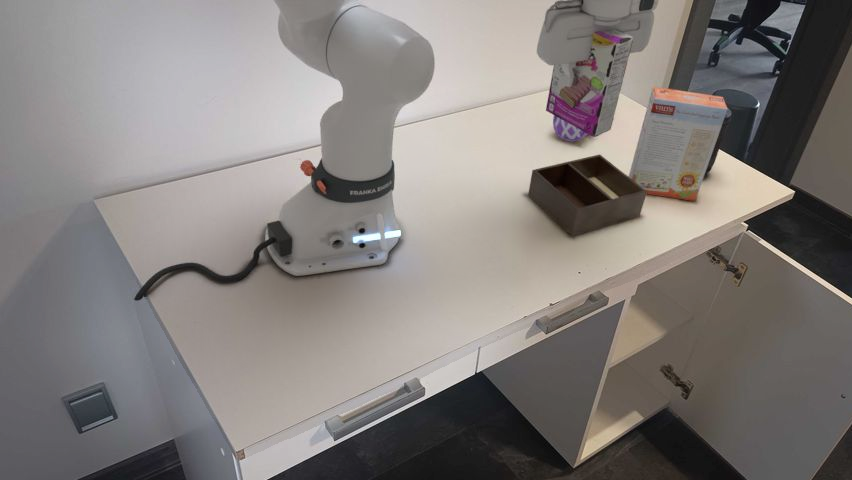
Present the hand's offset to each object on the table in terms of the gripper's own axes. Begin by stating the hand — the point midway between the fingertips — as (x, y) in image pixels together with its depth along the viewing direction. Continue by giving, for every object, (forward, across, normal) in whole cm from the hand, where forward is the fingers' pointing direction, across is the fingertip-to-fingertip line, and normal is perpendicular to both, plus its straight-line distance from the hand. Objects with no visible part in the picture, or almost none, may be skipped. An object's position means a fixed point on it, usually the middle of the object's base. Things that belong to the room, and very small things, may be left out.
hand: (586, 82), depth 112 cm
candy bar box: (+7, 0, 0) cm, 7 cm away
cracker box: (+28, +27, 0) cm, 39 cm away
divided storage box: (+28, +7, +2) cm, 29 cm away
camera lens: (+28, +39, +3) cm, 48 cm away
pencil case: (+28, +27, +29) cm, 49 cm away
